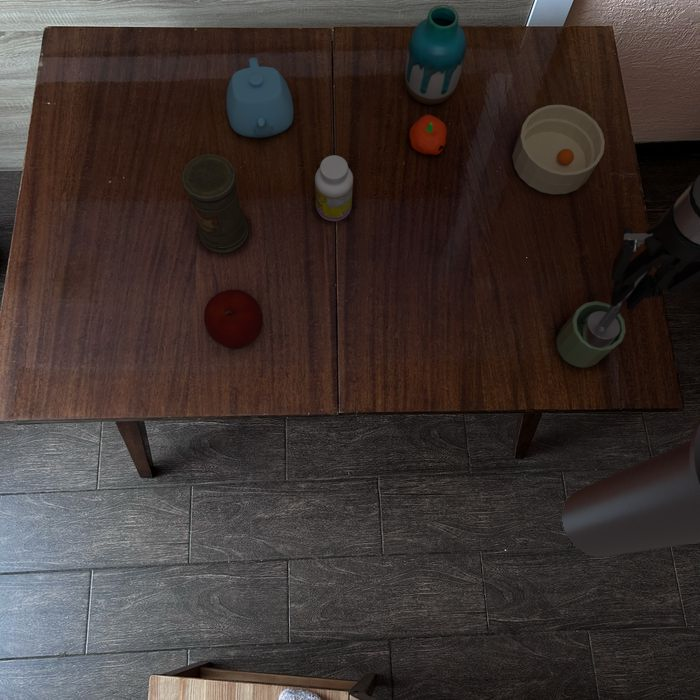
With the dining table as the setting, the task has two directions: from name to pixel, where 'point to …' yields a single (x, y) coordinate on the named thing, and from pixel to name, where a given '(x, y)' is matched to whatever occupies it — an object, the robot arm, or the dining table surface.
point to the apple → (233, 319)
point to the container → (215, 203)
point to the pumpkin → (428, 135)
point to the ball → (565, 157)
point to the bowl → (557, 149)
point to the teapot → (259, 101)
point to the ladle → (606, 321)
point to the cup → (575, 345)
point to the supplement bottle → (333, 188)
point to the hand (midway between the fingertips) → (622, 299)
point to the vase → (435, 56)
